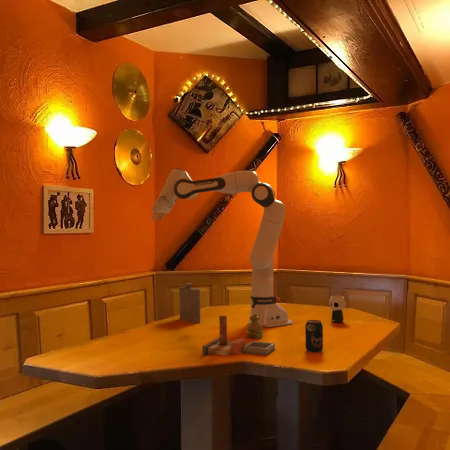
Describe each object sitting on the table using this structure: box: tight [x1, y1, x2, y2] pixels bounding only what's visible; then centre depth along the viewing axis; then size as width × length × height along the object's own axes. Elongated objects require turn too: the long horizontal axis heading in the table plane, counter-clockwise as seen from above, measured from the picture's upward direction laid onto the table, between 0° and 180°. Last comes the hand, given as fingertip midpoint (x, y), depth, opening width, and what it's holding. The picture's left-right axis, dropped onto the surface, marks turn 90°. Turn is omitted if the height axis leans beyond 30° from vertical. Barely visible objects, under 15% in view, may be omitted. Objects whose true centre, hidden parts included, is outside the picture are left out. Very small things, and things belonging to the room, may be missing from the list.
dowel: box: [218, 315, 228, 346], centre depth 206 cm, size 3×3×14 cm
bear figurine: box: [328, 295, 347, 323], centre depth 261 cm, size 11×7×13 cm, turn 38°
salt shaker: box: [246, 315, 264, 340], centre depth 229 cm, size 7×7×10 cm
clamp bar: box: [201, 336, 220, 356], centre depth 208 cm, size 2×19×4 cm, turn 157°
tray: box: [242, 340, 276, 356], centre depth 204 cm, size 10×10×2 cm
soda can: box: [304, 319, 324, 354], centre depth 204 cm, size 7×7×12 cm
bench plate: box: [208, 339, 234, 357], centre depth 206 cm, size 10×14×2 cm
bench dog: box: [230, 337, 246, 355], centre depth 203 cm, size 3×8×4 cm, turn 157°
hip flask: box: [178, 282, 201, 324], centre depth 266 cm, size 16×4×20 cm, turn 41°
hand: (156, 219), depth 268 cm, fingers open, 8 cm apart
